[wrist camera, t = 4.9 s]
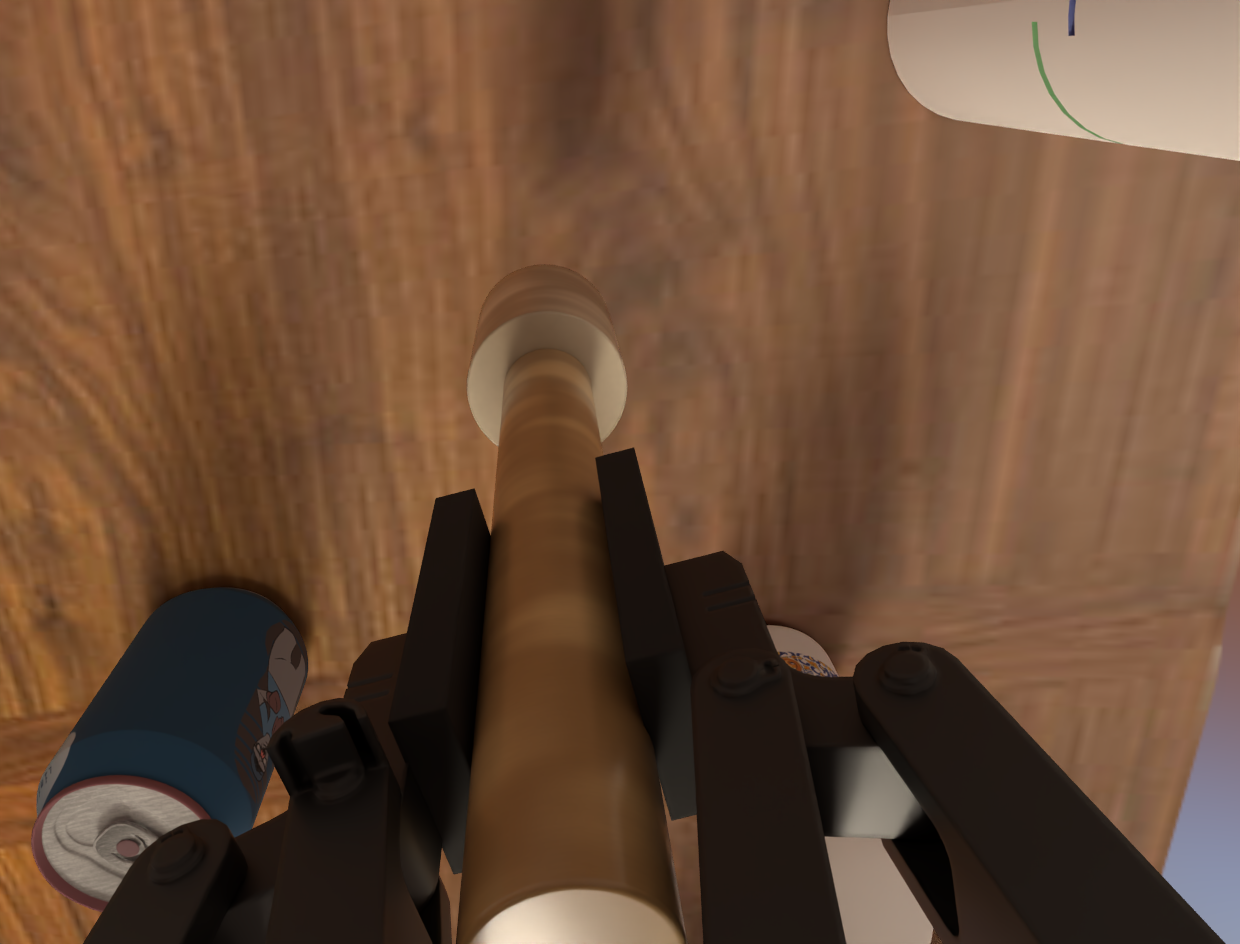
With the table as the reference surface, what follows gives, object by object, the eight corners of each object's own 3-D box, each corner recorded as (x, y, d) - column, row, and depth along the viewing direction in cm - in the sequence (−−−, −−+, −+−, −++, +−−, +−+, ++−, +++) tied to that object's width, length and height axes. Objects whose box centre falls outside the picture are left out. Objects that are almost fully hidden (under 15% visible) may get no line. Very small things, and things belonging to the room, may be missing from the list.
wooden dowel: (593, 249, 31) (743, 755, 9) (624, 375, 32) (814, 1055, 11) (460, 283, 31) (282, 869, 9) (499, 407, 32) (432, 1147, 11)
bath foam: (779, 592, 43) (962, 989, 25) (858, 688, 45) (1078, 1114, 27) (656, 675, 44) (743, 1113, 26) (740, 765, 47) (873, 1221, 28)
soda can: (115, 644, 41) (-37, 859, 30) (217, 542, 40) (97, 729, 29) (246, 733, 43) (150, 961, 32) (347, 639, 42) (282, 846, 31)
